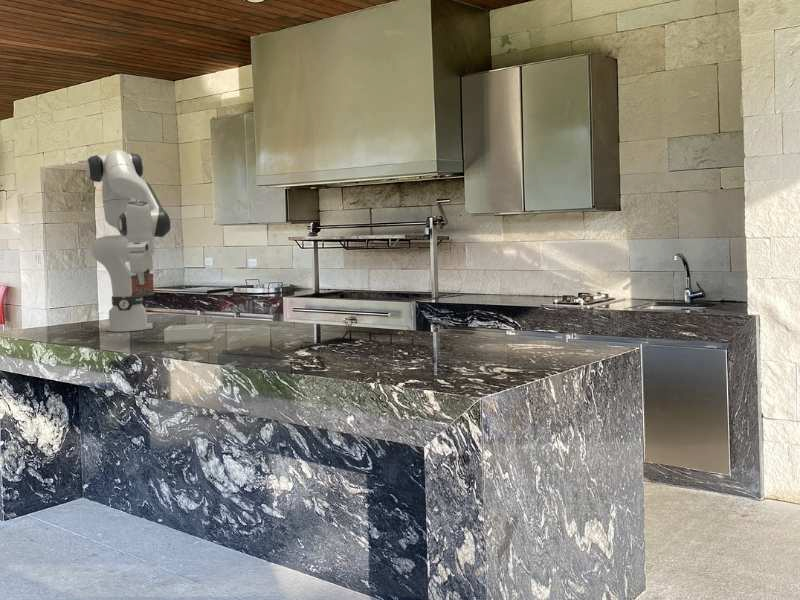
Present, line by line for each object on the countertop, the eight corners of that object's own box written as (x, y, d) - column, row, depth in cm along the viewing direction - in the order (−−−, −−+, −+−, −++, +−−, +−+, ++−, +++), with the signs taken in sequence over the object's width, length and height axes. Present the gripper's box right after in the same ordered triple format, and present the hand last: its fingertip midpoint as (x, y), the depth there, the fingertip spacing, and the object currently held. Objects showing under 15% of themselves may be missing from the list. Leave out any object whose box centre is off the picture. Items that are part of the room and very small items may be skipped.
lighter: (155, 295, 309) (154, 268, 311) (152, 293, 306) (151, 266, 308) (133, 297, 309) (132, 270, 311) (130, 295, 306) (129, 268, 308)
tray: (170, 339, 318) (169, 325, 317) (214, 337, 319) (213, 323, 319) (164, 343, 306) (163, 329, 305) (209, 341, 307) (209, 327, 307)
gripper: (138, 245, 318) (141, 282, 319) (125, 247, 298) (127, 286, 299) (155, 245, 318) (158, 281, 320) (143, 246, 298) (146, 285, 299)
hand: (143, 284), depth 309 cm, fingers closed on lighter, 2 cm apart
